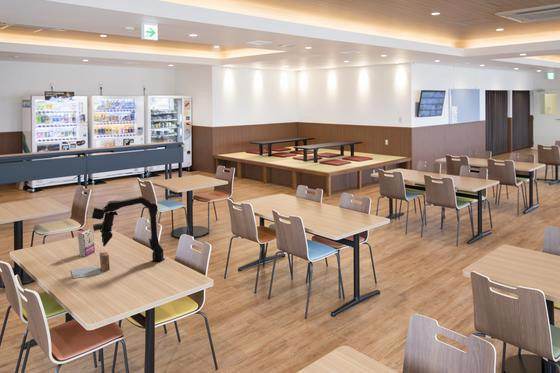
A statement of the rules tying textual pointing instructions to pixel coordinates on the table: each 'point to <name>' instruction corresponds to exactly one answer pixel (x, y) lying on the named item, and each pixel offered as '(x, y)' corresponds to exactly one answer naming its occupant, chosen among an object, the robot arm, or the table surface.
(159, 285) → the table surface
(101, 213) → the robot arm
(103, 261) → the walnut block
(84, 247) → the candy bar box
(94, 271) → the slate board
